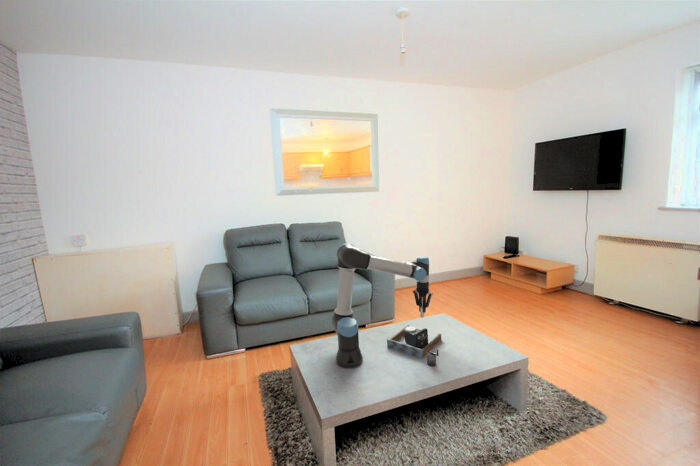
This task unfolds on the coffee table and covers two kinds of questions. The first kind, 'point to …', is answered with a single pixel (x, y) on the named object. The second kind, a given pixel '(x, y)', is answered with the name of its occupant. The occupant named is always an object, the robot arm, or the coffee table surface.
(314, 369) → the coffee table surface
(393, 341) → the bay
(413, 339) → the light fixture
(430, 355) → the winch drum
